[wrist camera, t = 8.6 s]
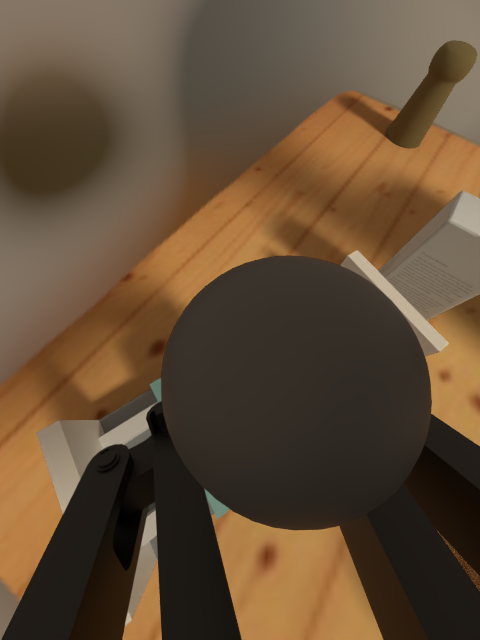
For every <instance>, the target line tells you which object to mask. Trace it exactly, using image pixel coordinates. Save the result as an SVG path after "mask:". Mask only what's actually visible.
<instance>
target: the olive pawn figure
mask: <svg viewBox="0 0 480 640" xmlns="http://www.w3.org/2000/svg"><path fill="white" fill-rule="evenodd" d="M476 57H477V51H476V49H475V48H474V47H472V46H471V45H470V44H468V43H466V42H462V41H449V42H447V43H445V44H444V45H443V46H441V47H440V48H439V50H438V51H437V52H436V54H435V55H434V57H433V59H432V61H431V63H430V66H429V72H428V74H427V76H426V77H425V78H424V80H423V81H422V83H421V84H420V85H419V87H418V88H417V89H416V91H415V92H414V94H413V95H412V96H411V98H410V99H409V100H408V102H407V103H406V105H405V106H404V107H403V109H402V110H401V112H400V113H399V114H398V116H397V117H396V118H395V120H394V121H393V123H392V124H391V125H390V127H389V128H388V129H387V132H386V134H387V137H388V138H389V139H390V140H391V141H392V142H393V143H395V144H396V145H398V146H401V147H405V148H415V147H418V146H419V145H420V143H421V142H422V140H423V138H424V136H425V135H426V133H427V131H428V130H429V128H430V126H431V125H432V123H433V121H434V119H435V118H436V116H437V114H438V113H439V111H440V109H441V108H442V106H443V104H444V103H445V101H446V99H447V97H448V96H449V94H450V92H451V91H452V89H453V87H454V86H455V84H456V83H458V82H459V81H461V80H462V79H463V78H464V77H465V76H466V75H467V74H468V73H469V71H470V70H471V69H472V67H473V65H474V63H475V61H476Z"/></svg>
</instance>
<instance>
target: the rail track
mask: <svg viewBox="0 0 480 640" xmlns="http://www.w3.org/2000/svg"><path fill="white" fill-rule="evenodd" d="M340 266H342V267H345V268H347V269H349V270H351V271H353V272H355V273H357V274H359V275H360V276H362V277H363V278H365V279H366V280H368V281H370V282H371V283H372V284H373V285H375V286H376V287H377V288H379V289H380V290H381V291H382V292H383V293H384V294H385V295H386V296H387V297H388V298H389V299H391V300H392V302H393V303H394V304H395V305H396V306H397V307H398V309H399V310H400V311H401V312H402V314H403V315H404V316H405V318H406V319H407V321H408V322H409V324H410V325H411V327H412V329H413V331H414V332H415V334H416V336H417V338H418V341H419V343H420V345H421V347H422V350H423V353H424V356H428V355H431V354H434V353H437V352H440V351H441V350H442V349H443V348H445V347H446V346H447V345H448V344H449V343H448V342H447V341H446V340H445V339H444V338H443V337H442V336H441V335H440V334H439V333H438V332H437V331H436V330H435V329H434V328H433V327H432V326H431V325H430V324H429V323H428V322H427V321H426V320H425V319H424V317H423V316H422V315H421V314H420V313H419V312H418V311H417V310H416V309H415V308H414V307H413V306H412V305H411V304H410V303H409V302H408V301H407V300H406V299H405V298H404V297H403V296H402V295H401V294H400V293H399V292H398V291H397V290H396V289H395V288H394V287H393V286H392V285H391V284H390V283H389V282H388V281H387V280H386V279H385V278H384V277H383V276H382V275H381V274H380V273H379V271H378V270H377V269H376V268H375V267H374V266H373V265H372V264H371V263H370V262H369V261H368V260H367V259H366V258H365V257H364V256H363V255H362V254H361V253H360V252H359V251H358V250H357V251H355V252H353V253H351V254H350V255H348V256H347V257H346V258H345V260H344V261H343V262H342V264H341V265H340ZM157 403H158V401H157V399H156V397H155V395H154V393H153V391H152V389H150V390H148V391H147V392H145V393H143V394H142V395H140V396H138V397H137V398H135V399H133V400H132V401H130V402H128V403H127V404H125V405H123V406H122V407H120V408H118V409H117V410H115V411H113V412H112V413H110V414H108V415H107V416H105V417H103V418H102V419H100V420H58V421H56V422H54V423H53V424H51V425H49V426H47V427H46V428H44V429H42V430H40V431H39V432H37V436H38V439H39V442H40V445H41V449H42V452H43V455H44V458H45V461H46V464H47V467H48V470H49V473H50V476H51V479H52V482H53V485H54V488H55V491H56V494H57V497H58V500H59V503H60V506H61V509H62V512H63V514H64V511H65V509H66V507H67V505H68V503H69V501H70V499H71V497H72V495H73V493H74V491H75V489H76V487H77V485H78V483H79V481H80V479H81V477H82V475H83V473H84V471H85V469H86V467H87V465H88V463H89V462H90V461H91V459H92V458H93V457H94V456H95V455H96V454H97V453H98V452H99V451H101V450H103V449H104V448H106V447H108V446H111V445H114V444H123V445H125V446H127V447H128V449H130V448H132V447H134V446H136V445H138V444H140V443H141V442H143V441H145V440H146V439H147V438H149V437H150V436H151V432H150V429H149V426H148V423H147V420H146V416H147V412H148V411H149V410H150V408H151V407H153V406H154V405H155V404H157ZM207 501H208V499H207ZM208 505H209V509H210V513H211V516H212V515H213V514H214V511H213V509H212V507H211V505H210V503H209V501H208ZM157 560H158V550H157V530H156V510H155V502H154V503H152V504H151V505H149V508H148V513H147V518H146V523H145V528H144V533H143V538H142V543H141V548H140V553H139V558H138V563H137V568H136V573H135V578H134V583H133V588H132V593H131V598H130V603H129V608H128V612H127V617H126V622H125V625H127V624H128V623H129V622H130V621H131V620H132V618H133V616H134V614H135V611H136V609H137V607H138V604H139V602H140V600H141V597H142V595H143V593H144V590H145V588H146V586H147V583H148V581H149V579H150V576H151V574H152V572H153V569H154V567H155V565H156V562H157Z"/></svg>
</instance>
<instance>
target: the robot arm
mask: <svg viewBox="0 0 480 640" xmlns="http://www.w3.org/2000/svg"><path fill="white" fill-rule="evenodd" d="M146 420H147V423H148V426H149V429H150V432H151V436H150V437H149V438H147V439H146V440H145V441H143V442H141V443H140V444H138V445H136V446H134V447H132V448H130V449H128V447H127V446H125V445H123V444H114V445H111V446H108V447H106V448H104V449H103V450H101V451H99V452H98V453H97V454H96V455H95V456H94V457H93V458H92V459H91V461H90V462H89V463H88V465H87V467H86V469H85V471H84V473H83V475H82V477H81V479H80V481H79V483H78V485H77V487H76V489H75V491H74V493H73V495H72V497H71V499H70V501H69V503H68V505H67V507H66V509H65V511H64V514H63V516H62V518H61V520H60V522H59V524H58V526H57V528H56V530H55V532H54V534H53V536H52V538H51V540H50V542H49V544H48V546H47V548H46V550H45V552H44V554H43V556H42V558H41V560H40V562H39V564H38V566H37V568H36V570H35V572H34V574H33V577H32V579H31V581H30V583H29V585H28V587H27V589H26V591H25V593H24V595H23V597H22V599H21V601H20V603H19V605H18V607H17V609H16V611H15V613H14V615H13V617H12V619H11V621H10V623H9V625H8V628H7V629H6V631H5V634H4V635H3V638H2V640H122V637H123V632H124V627H125V622H126V617H127V612H128V608H129V603H130V598H131V593H132V588H133V583H134V578H135V573H136V568H137V563H138V558H139V553H140V548H141V543H142V538H143V533H144V528H145V523H146V518H147V513H148V508H149V505H151V504H152V503H154V502H155V510H156V530H157V550H158V570H159V589H160V609H161V629H162V640H242V639H241V635H240V631H239V627H238V623H237V619H236V615H235V611H234V607H233V603H232V599H231V595H230V590H229V586H228V582H227V578H226V574H225V570H224V566H223V562H222V558H221V554H220V550H219V546H218V542H217V538H216V534H215V529H214V525H213V521H212V517H211V513H210V509H209V505H208V501H207V497H206V493H205V489H204V488H203V487H202V486H201V485H200V484H199V483H198V482H197V480H196V479H195V478H194V477H193V475H192V474H191V473H190V471H189V470H188V469H187V468H186V466H185V464H184V463H183V461H182V459H181V458H180V456H179V454H178V453H177V451H176V449H175V446H174V444H173V442H172V439H171V437H170V435H169V432H168V428H167V425H166V421H165V417H164V413H163V406H162V398H161V402H158V403H157V404H155V405H154V406H153V407H151V408H150V410H149V411H148V412H147V416H146ZM435 528H436V529H437V530H438V531H439V532H440V533H441V534H442V536H443V537H444V538H445V539H446V540H447V541H448V542H449V543H450V544H451V545H452V546H453V547H454V549H455V550H456V551H457V552H458V553H459V554H460V555H461V556H462V557H463V558H464V559H465V560H466V561H467V563H468V564H469V565H470V566H471V567H472V568H473V569H474V570H475V571H476V572H477V573H478V574H479V576H480V446H478V445H477V444H475V443H474V442H472V441H471V440H469V439H468V438H466V437H465V436H463V435H462V434H460V433H459V432H457V431H456V430H454V429H453V428H451V427H450V426H449V425H447V424H446V423H444V422H443V421H441V420H440V419H438V418H437V417H435V416H434V415H432V414H431V420H430V425H429V430H428V434H427V438H426V441H425V444H424V446H423V449H422V452H421V454H420V456H419V458H418V460H417V462H416V464H415V465H414V467H413V469H412V471H411V473H410V474H409V476H408V477H407V479H406V480H405V481H404V482H403V484H402V485H401V486H400V488H399V489H398V490H397V491H396V492H395V493H394V494H393V495H392V496H391V497H389V498H388V499H387V500H386V501H385V502H384V503H383V504H381V505H380V506H378V507H376V508H375V509H373V510H372V511H370V512H368V513H367V514H365V515H364V516H362V517H360V518H358V519H356V520H353V521H351V522H348V523H346V524H343V525H340V529H341V531H342V534H343V536H344V539H345V541H346V544H347V547H348V549H349V552H350V554H351V557H352V560H353V562H354V565H355V567H356V570H357V572H358V575H359V578H360V580H361V583H362V585H363V588H364V590H365V593H366V596H367V598H368V601H369V603H370V606H371V609H372V611H373V614H374V616H375V619H376V621H377V624H378V627H379V629H380V632H381V634H382V637H383V639H384V640H480V592H479V590H478V589H477V588H476V586H475V585H474V583H473V582H472V580H471V579H470V577H469V576H468V575H467V573H466V572H465V570H464V569H463V567H462V566H461V565H460V563H459V562H458V560H457V559H456V557H455V556H454V555H453V553H452V552H451V550H450V549H449V547H448V546H447V545H446V543H445V542H444V540H443V539H442V537H441V536H440V535H439V533H438V532H437V530H436V529H435Z"/></svg>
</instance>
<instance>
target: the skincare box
mask: <svg viewBox="0 0 480 640" xmlns="http://www.w3.org/2000/svg"><path fill="white" fill-rule="evenodd" d="M378 271H379V273H380V274H381V275H382V276H383V277H384V278H385V279H386V280H387V281H388V282H389V283H390V284H391V285H392V286H393V287H394V288H395V289H396V290H397V291H398V292H399V293H400V294H401V295H402V296H403V297H404V298H405V299H406V300H407V301H408V302H409V303H410V304H411V305H412V306H413V307H414V308H415V309H416V310H417V311H418V312H419V313H420V314H421V315H422V316H423V317H424V319H425V320H426V321H427V320H429V319H431V318H433V317H435V316H437V315H439V314H441V313H443V312H445V311H447V310H449V309H451V308H453V307H455V306H457V305H459V304H461V303H463V302H465V301H467V300H469V299H471V298H473V297H475V296H477V295H479V294H480V198H477V197H475V196H473V195H471V194H469V193H467V192H465V191H461V192H460V193H458V194H457V195H456V196H455V197H454V198H453V199H452V200H451V201H450V202H449V203H448V204H447V205H446V206H445V207H444V208H443V209H442V210H441V211H440V212H439V213H438V214H437V215H436V216H434V217H433V218H432V219H431V220H430V221H429V222H428V223H427V224H426V225H425V226H424V227H423V228H422V229H421V230H420V231H419V232H418V233H417V234H416V235H415V236H414V237H413V238H412V239H411V240H410V241H409V242H407V243H406V244H405V245H404V246H403V247H402V248H401V249H400V250H399V251H398V252H397V253H396V254H395V255H394V256H393V257H392V258H391V259H390V260H389V261H388V262H387V263H386V264H385V265H384V266H383V267H381V268H380V269H379V270H378Z"/></svg>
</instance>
